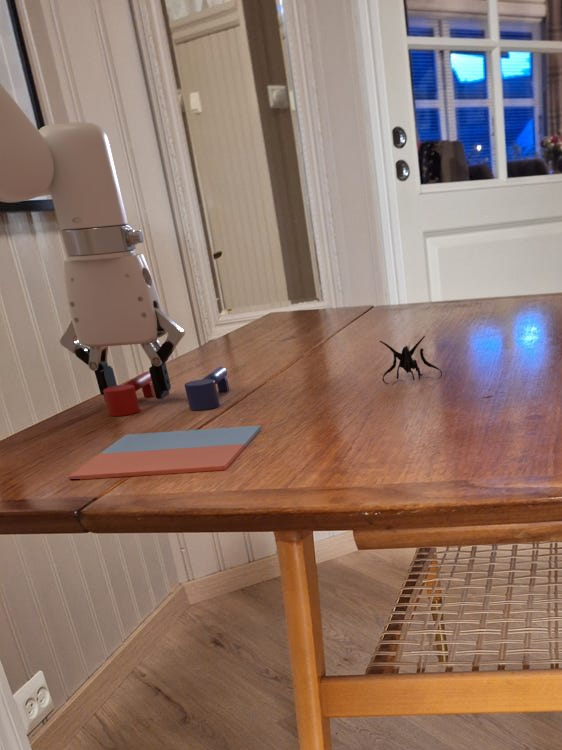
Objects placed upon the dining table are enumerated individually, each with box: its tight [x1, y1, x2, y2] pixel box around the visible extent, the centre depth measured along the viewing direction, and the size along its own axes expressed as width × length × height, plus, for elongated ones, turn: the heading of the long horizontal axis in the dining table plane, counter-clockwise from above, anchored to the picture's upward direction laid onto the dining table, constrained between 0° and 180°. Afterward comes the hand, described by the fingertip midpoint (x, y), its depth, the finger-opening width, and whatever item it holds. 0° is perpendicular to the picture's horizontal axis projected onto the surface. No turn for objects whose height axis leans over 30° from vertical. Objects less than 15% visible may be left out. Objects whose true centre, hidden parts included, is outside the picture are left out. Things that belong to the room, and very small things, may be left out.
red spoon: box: [103, 371, 155, 417], centre depth 110 cm, size 12×4×3 cm, turn 0°
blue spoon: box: [184, 366, 230, 412], centre depth 109 cm, size 12×4×3 cm, turn 0°
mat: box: [68, 425, 262, 480], centre depth 88 cm, size 15×15×1 cm
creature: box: [379, 335, 443, 385], centre depth 112 cm, size 8×5×8 cm
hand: (137, 397), depth 111 cm, fingers open, 5 cm apart
